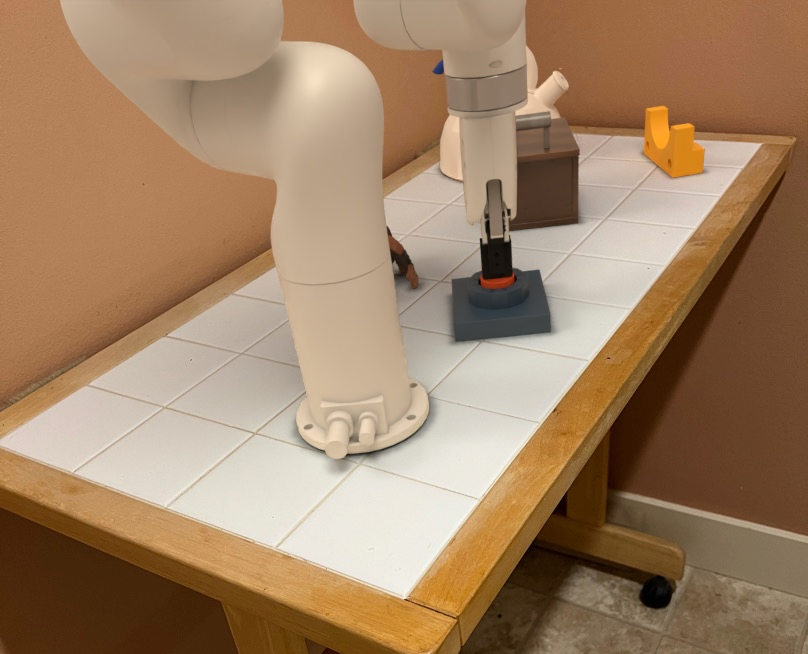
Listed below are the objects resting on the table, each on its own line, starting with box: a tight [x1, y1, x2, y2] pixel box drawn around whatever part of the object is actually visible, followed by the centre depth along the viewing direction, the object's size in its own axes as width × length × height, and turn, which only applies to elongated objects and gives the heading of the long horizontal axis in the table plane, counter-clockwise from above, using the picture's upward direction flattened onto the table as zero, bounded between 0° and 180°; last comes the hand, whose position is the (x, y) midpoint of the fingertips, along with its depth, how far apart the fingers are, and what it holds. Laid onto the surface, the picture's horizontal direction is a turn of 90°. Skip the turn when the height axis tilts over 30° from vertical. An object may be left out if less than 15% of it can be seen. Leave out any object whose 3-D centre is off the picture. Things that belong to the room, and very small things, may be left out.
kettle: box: [432, 44, 570, 182], centre depth 124 cm, size 20×21×18 cm
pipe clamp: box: [643, 105, 706, 179], centre depth 117 cm, size 12×4×6 cm, turn 6°
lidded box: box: [509, 155, 580, 232], centre depth 109 cm, size 14×12×9 cm
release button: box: [480, 273, 515, 289], centre depth 87 cm, size 4×4×2 cm
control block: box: [451, 267, 552, 343], centre depth 88 cm, size 11×10×4 cm
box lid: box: [516, 111, 581, 163], centre depth 105 cm, size 14×12×5 cm
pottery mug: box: [386, 225, 419, 290], centre depth 98 cm, size 12×10×8 cm
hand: (497, 275), depth 86 cm, fingers closed
